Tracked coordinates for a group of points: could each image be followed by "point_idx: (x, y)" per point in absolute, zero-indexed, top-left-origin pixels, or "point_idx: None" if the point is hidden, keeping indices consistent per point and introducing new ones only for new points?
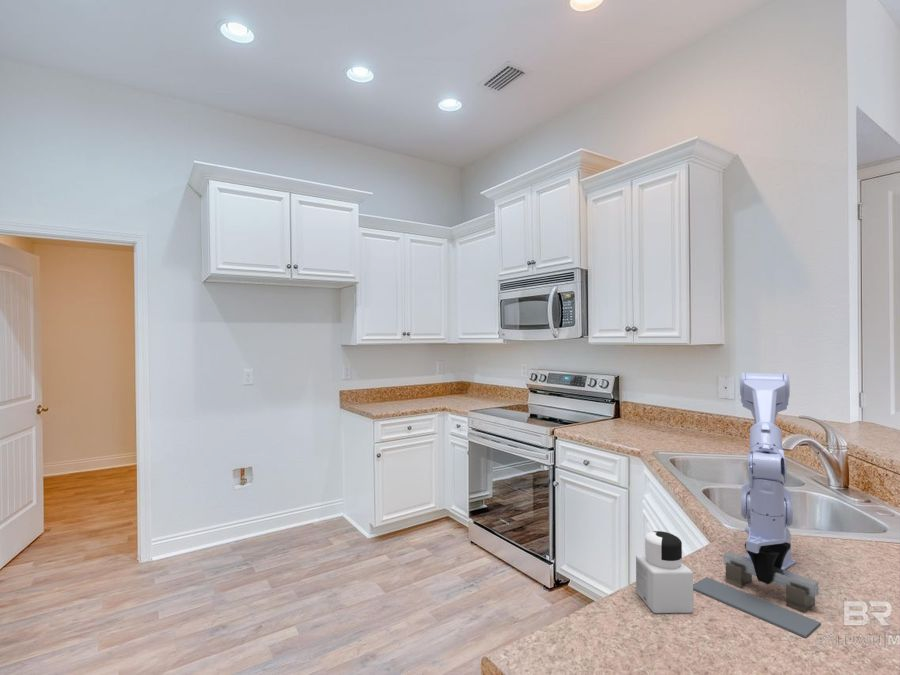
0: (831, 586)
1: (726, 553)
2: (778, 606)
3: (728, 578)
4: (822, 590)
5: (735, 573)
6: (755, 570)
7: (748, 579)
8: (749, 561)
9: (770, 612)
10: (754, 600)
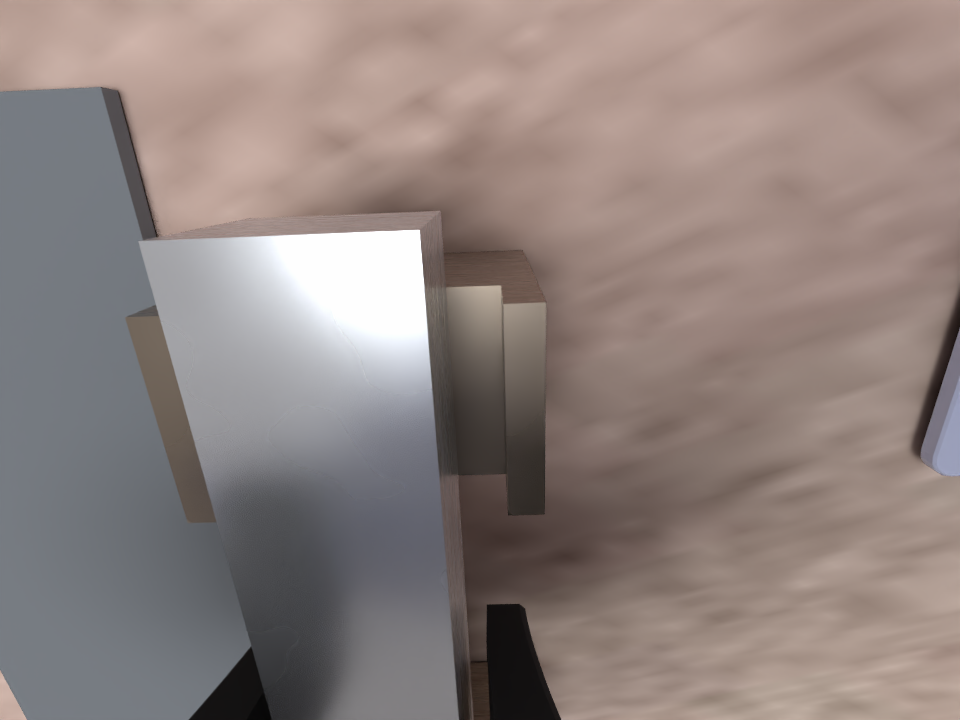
0: (935, 711)
1: (235, 266)
2: None
3: None
4: (810, 701)
5: None
6: (201, 707)
7: None
8: (317, 633)
9: (113, 671)
10: (155, 565)
